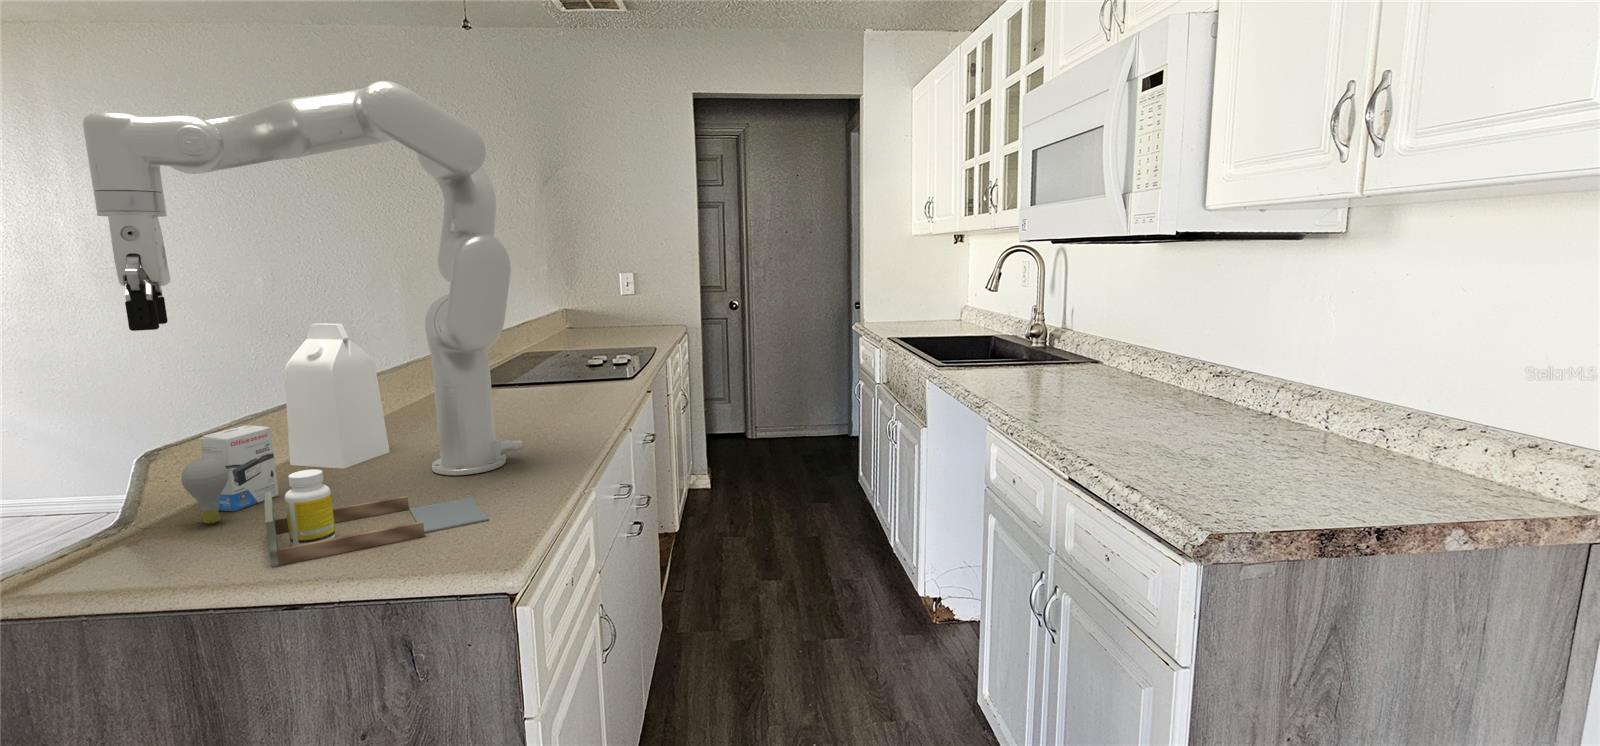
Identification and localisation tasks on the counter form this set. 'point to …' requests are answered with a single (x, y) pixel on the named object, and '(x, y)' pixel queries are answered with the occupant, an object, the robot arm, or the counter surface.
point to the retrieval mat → (448, 514)
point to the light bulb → (206, 485)
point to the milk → (333, 402)
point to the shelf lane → (344, 542)
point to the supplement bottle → (309, 508)
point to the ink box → (243, 464)
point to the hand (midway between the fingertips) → (149, 326)
